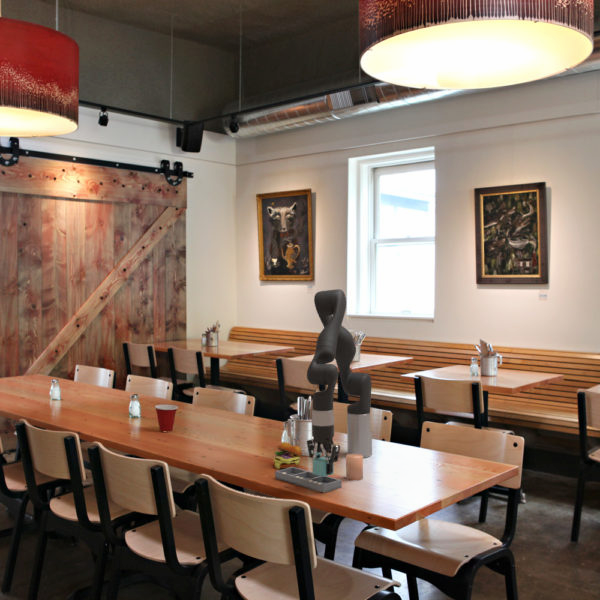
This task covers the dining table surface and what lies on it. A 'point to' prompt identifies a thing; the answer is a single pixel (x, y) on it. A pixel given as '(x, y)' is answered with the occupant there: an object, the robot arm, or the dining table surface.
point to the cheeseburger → (287, 456)
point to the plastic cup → (166, 416)
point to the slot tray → (308, 479)
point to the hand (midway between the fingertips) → (323, 472)
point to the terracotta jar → (354, 467)
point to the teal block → (320, 467)
